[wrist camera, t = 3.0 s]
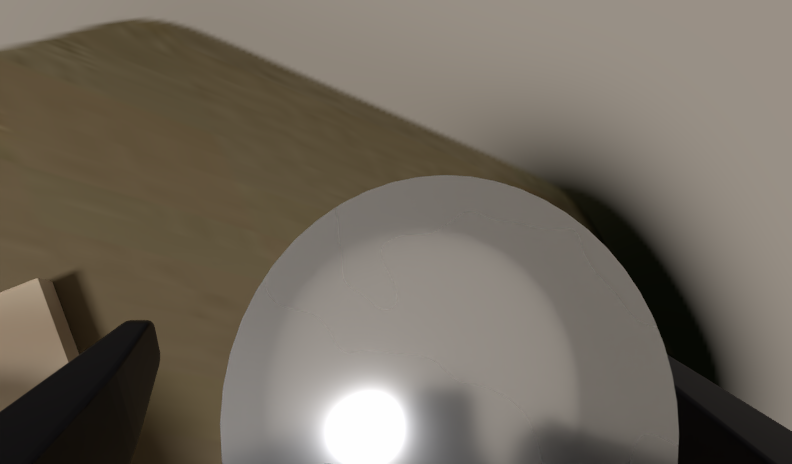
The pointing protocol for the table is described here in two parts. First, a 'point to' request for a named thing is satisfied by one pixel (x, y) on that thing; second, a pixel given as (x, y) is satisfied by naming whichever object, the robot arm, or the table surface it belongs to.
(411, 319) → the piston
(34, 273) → the table surface
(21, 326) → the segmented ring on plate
